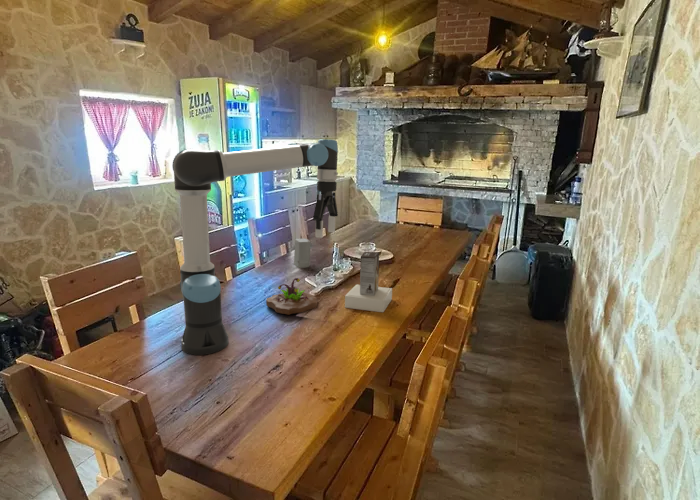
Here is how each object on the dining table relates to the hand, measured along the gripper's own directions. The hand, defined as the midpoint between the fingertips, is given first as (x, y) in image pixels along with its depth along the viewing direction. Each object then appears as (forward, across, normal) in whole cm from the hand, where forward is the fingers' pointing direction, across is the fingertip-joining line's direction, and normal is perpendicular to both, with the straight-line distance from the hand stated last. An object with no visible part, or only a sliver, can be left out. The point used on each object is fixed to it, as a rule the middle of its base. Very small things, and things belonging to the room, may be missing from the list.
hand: (325, 234), depth 167 cm
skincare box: (+29, +48, +31) cm, 64 cm away
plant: (+30, -3, +12) cm, 33 cm away
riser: (+29, +8, -17) cm, 35 cm away
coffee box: (+24, +8, -17) cm, 30 cm away
